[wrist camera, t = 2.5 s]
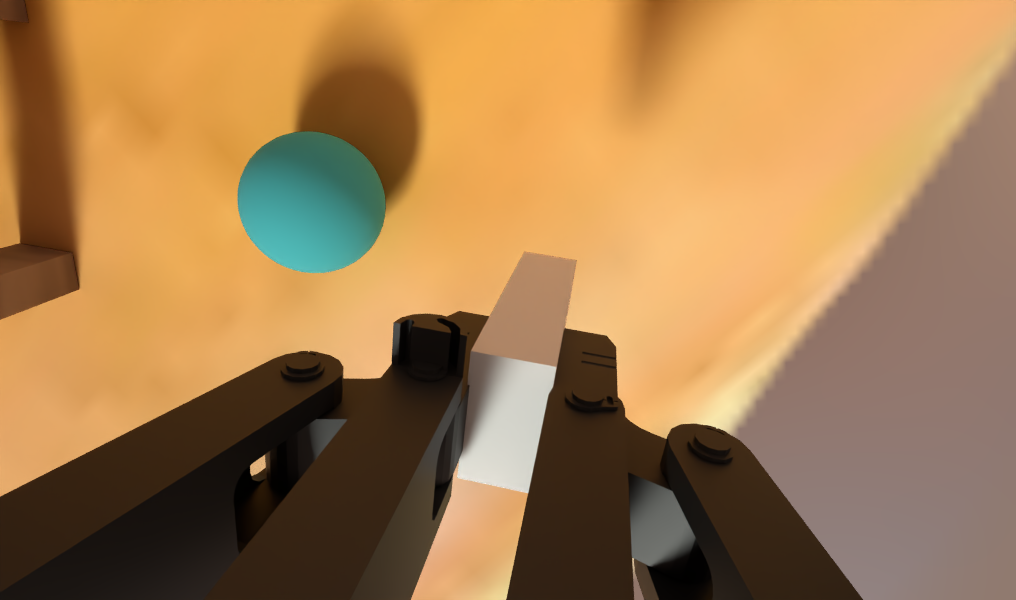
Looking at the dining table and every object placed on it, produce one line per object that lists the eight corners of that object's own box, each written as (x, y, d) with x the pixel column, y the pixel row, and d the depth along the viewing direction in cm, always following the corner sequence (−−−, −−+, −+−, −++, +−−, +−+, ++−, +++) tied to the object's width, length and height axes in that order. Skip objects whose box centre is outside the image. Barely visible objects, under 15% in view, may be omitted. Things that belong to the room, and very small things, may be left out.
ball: (284, 118, 24) (197, 126, 18) (407, 136, 23) (352, 149, 18) (288, 241, 26) (210, 279, 21) (401, 260, 25) (350, 304, 20)
